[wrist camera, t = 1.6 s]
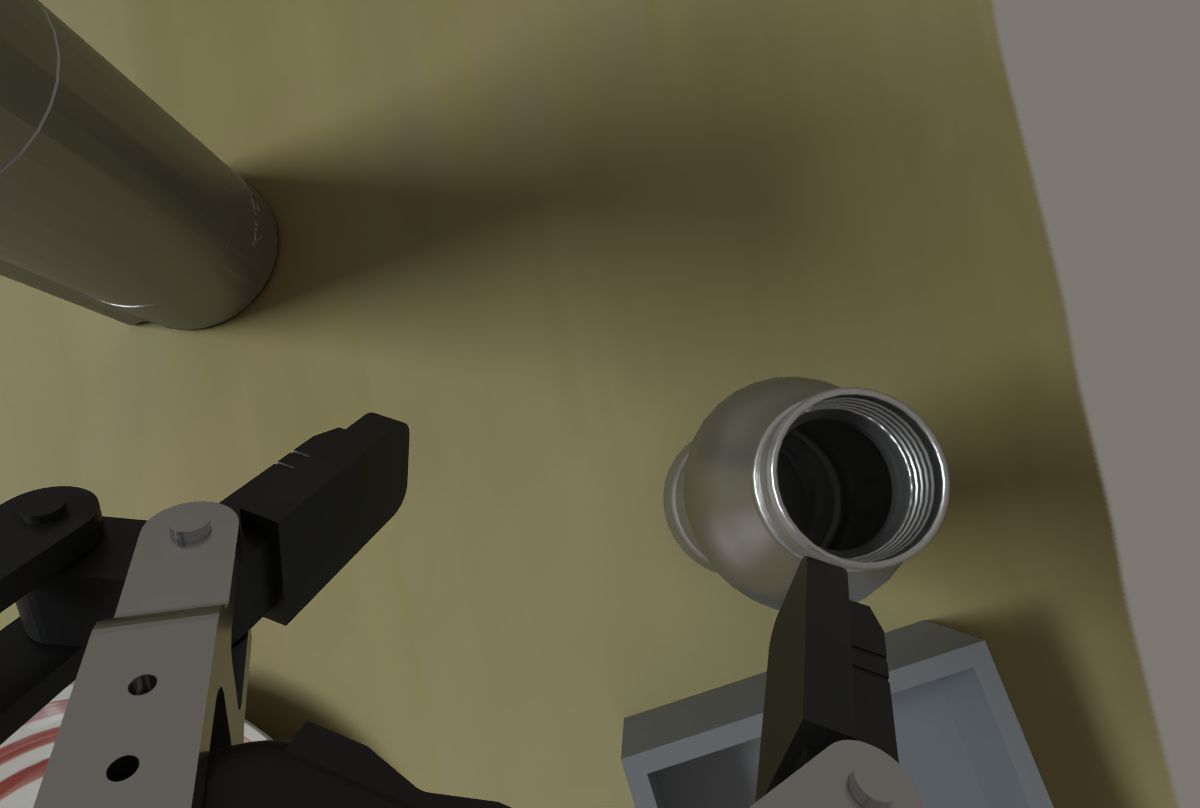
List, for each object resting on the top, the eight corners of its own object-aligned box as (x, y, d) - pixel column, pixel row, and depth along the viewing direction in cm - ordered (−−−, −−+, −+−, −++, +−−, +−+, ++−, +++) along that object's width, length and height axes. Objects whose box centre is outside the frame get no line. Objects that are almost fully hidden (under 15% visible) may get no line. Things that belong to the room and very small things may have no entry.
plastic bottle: (763, 418, 34) (940, 271, 14) (814, 548, 32) (1087, 587, 13) (642, 460, 34) (649, 372, 14) (689, 591, 32) (770, 698, 13)
